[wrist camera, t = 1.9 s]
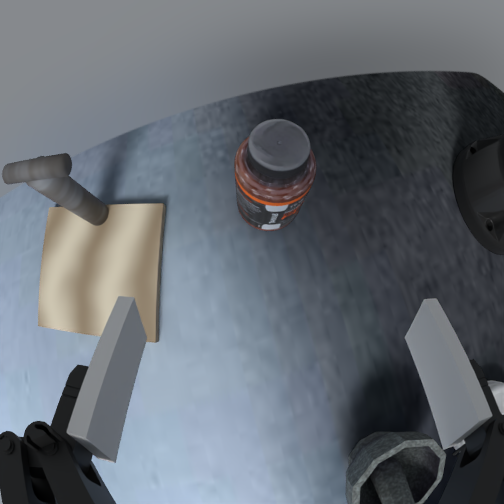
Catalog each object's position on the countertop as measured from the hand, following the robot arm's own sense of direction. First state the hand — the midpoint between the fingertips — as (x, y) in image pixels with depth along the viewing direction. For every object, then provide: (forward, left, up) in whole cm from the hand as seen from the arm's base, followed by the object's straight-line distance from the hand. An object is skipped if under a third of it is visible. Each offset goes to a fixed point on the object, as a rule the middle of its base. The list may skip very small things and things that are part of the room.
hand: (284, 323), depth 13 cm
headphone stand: (+17, -4, -15) cm, 23 cm away
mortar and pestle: (-12, +16, -15) cm, 25 cm away
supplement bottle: (0, -11, -15) cm, 18 cm away
